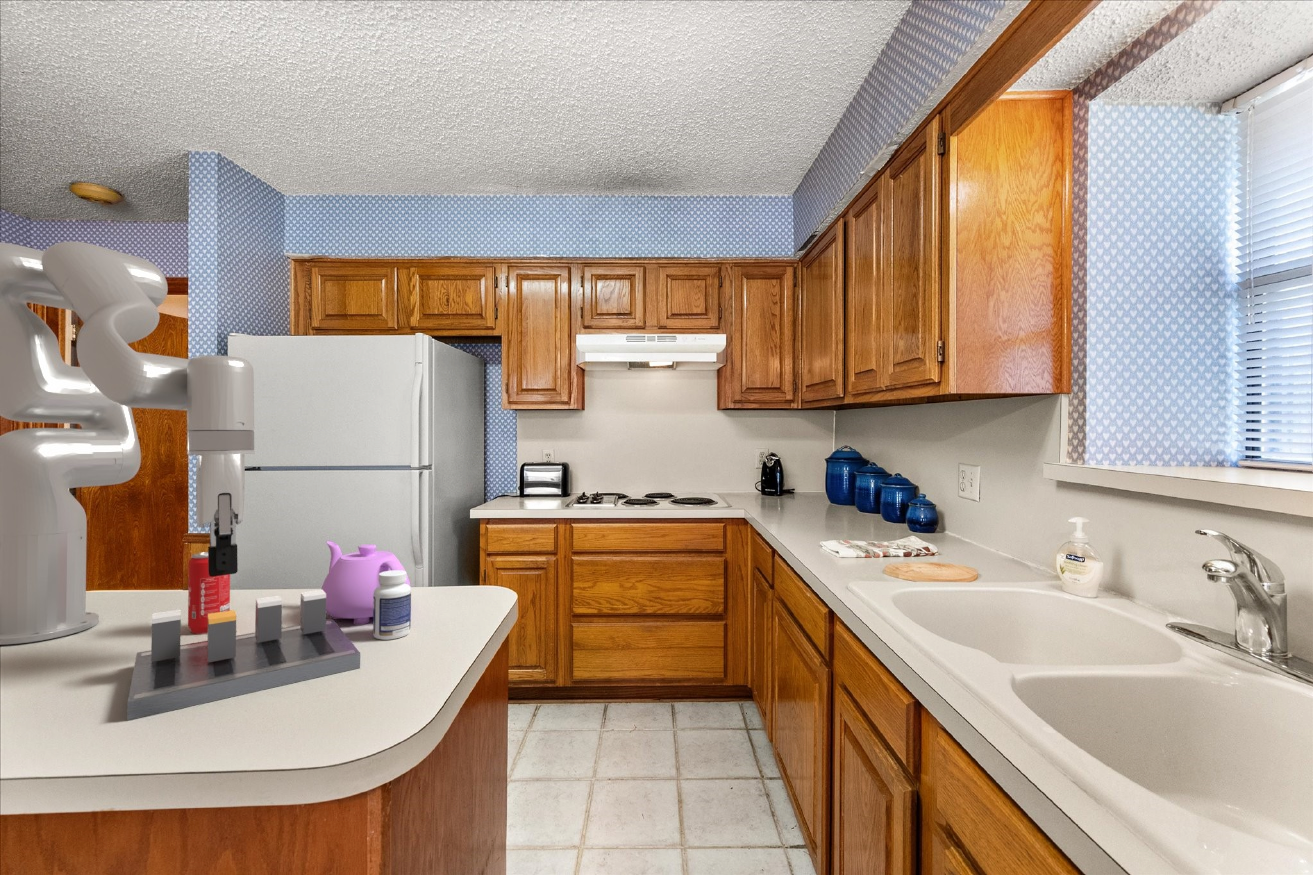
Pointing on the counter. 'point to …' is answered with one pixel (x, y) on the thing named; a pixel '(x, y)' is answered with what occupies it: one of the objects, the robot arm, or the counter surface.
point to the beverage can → (205, 593)
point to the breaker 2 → (268, 619)
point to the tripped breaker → (221, 636)
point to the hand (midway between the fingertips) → (223, 573)
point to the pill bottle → (392, 606)
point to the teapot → (356, 581)
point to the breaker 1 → (166, 635)
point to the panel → (237, 669)
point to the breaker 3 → (313, 611)
